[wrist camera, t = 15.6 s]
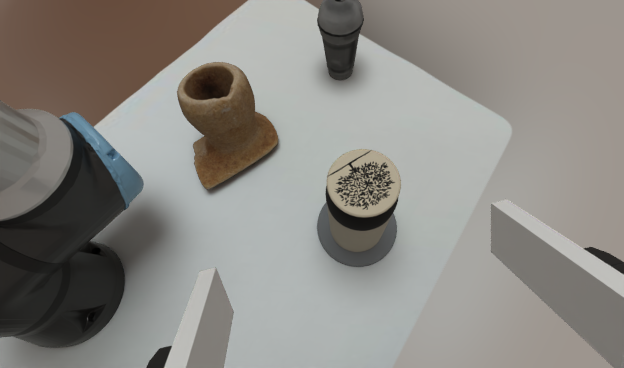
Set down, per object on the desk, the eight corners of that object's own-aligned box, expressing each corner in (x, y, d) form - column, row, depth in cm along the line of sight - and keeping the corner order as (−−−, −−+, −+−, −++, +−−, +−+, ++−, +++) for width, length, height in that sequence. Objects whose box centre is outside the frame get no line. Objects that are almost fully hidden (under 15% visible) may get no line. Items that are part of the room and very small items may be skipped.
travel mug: (392, 239, 48) (418, 199, 32) (343, 261, 48) (344, 232, 31) (368, 193, 51) (380, 135, 35) (321, 213, 51) (312, 164, 34)
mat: (327, 274, 48) (327, 274, 47) (310, 199, 52) (310, 198, 52) (406, 256, 48) (407, 255, 47) (382, 183, 52) (383, 181, 52)
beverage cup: (346, 49, 64) (348, -60, 45) (367, 74, 61) (378, -31, 42) (314, 66, 63) (302, -38, 44) (334, 92, 60) (331, -8, 42)
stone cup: (255, 102, 61) (229, 39, 47) (288, 148, 56) (270, 94, 43) (182, 144, 59) (133, 90, 45) (210, 195, 54) (166, 154, 40)
